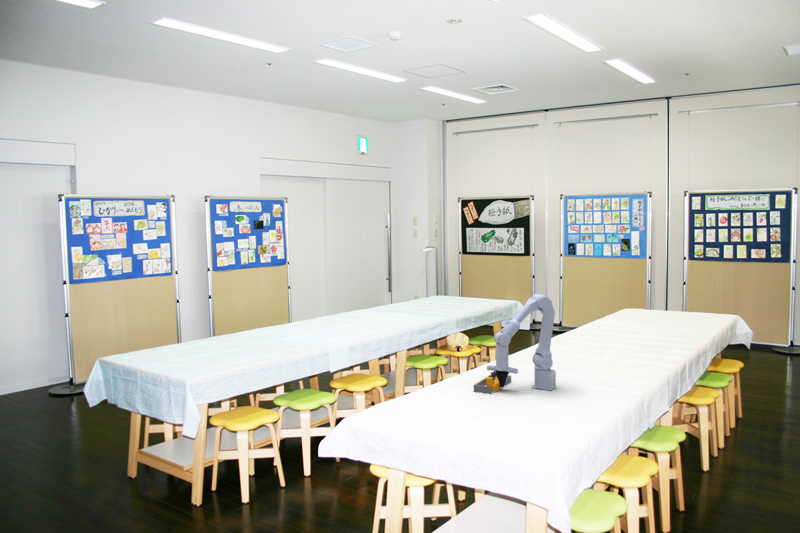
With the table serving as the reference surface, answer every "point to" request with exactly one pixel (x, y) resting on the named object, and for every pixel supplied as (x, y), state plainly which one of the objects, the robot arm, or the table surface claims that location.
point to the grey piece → (485, 389)
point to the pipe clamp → (493, 384)
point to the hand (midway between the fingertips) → (502, 386)
